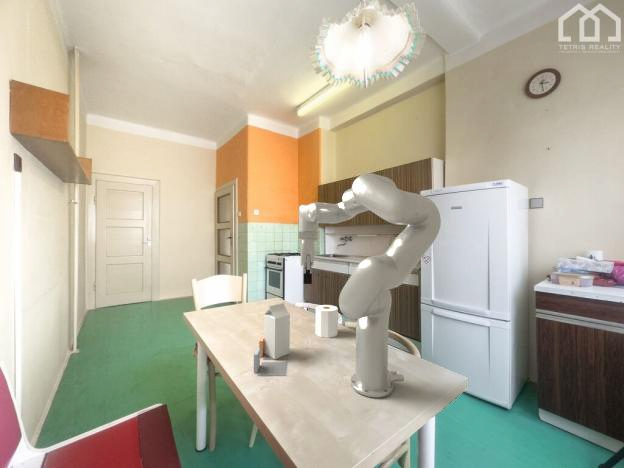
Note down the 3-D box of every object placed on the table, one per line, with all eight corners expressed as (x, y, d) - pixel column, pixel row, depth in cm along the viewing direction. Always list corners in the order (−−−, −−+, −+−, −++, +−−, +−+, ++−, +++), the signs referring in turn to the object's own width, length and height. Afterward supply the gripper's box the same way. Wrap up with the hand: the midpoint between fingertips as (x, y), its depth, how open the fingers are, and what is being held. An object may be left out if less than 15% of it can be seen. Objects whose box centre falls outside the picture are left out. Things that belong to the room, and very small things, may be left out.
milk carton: (289, 353, 101) (290, 304, 101) (274, 359, 96) (275, 307, 96) (278, 348, 106) (278, 300, 106) (263, 353, 101) (263, 304, 101)
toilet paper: (311, 334, 121) (311, 308, 121) (323, 328, 129) (323, 303, 129) (329, 339, 114) (329, 312, 114) (341, 332, 123) (341, 307, 123)
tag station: (289, 349, 105) (289, 333, 105) (285, 376, 85) (285, 357, 85) (262, 349, 105) (262, 334, 105) (252, 376, 85) (252, 357, 85)
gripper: (298, 236, 110) (298, 280, 110) (298, 236, 95) (297, 287, 95) (316, 236, 110) (316, 280, 110) (319, 236, 95) (318, 287, 95)
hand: (307, 283), depth 102 cm, fingers closed
